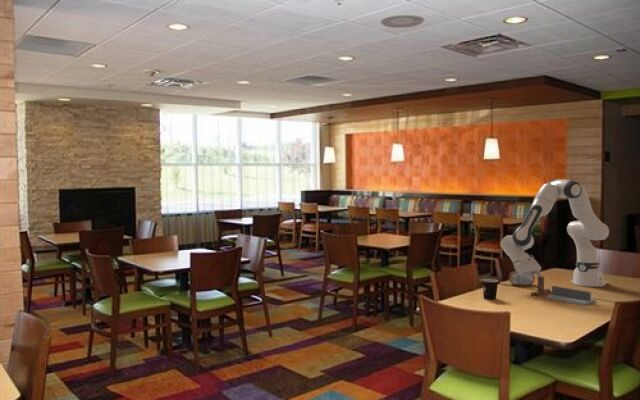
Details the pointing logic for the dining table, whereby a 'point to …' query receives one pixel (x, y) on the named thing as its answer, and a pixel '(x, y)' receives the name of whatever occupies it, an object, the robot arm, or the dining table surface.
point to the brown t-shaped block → (540, 288)
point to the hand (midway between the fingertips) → (536, 279)
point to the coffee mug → (489, 288)
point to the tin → (520, 279)
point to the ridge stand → (571, 295)
